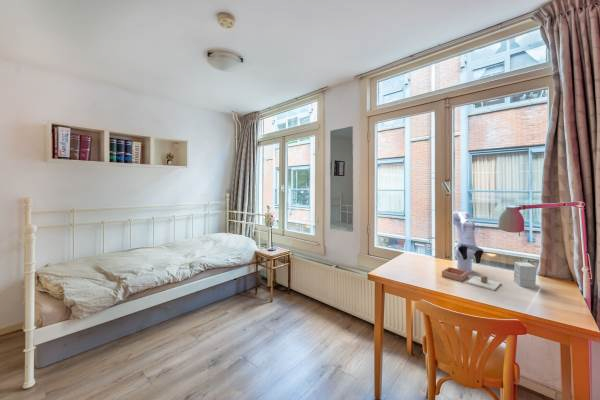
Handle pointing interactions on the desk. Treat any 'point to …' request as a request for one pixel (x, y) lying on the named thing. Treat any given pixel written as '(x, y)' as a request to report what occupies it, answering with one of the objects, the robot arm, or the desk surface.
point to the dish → (455, 274)
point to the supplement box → (525, 274)
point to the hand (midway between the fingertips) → (471, 261)
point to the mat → (485, 288)
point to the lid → (484, 282)
